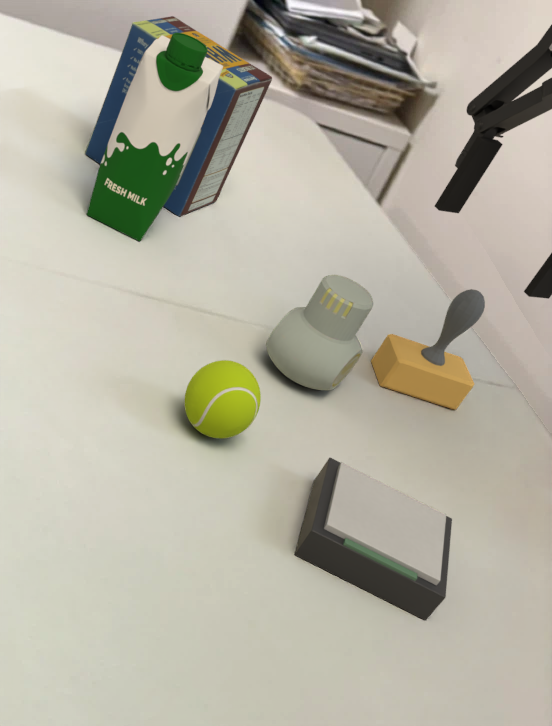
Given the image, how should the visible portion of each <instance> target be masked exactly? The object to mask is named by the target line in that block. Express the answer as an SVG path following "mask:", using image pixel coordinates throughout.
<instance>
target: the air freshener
mask: <svg viewBox="0 0 552 726" xmlns="http://www.w3.org/2000/svg"><path fill="white" fill-rule="evenodd" d="M374 305H375V304H374V300H373V297H372V295H371V293H370V292H369V291H368V289H366V288H365V287H364V286H363V285H361V283H359V282H356V281H355V280H353V279H351V278H349V277H346V276H344V275H341V274H328V275H326V276H324V277H323V278H322V279H321V281H320V282H319V284H318V286H317V287H316V290H315V291H314V293H313V294H312V296H311V298H310V300H309V301H308V303H307V304H306V306H297V307H294V308H293V309H291V310H289V312H288V313H287V314H285V315H284V316H283V317H282V318H281V320H280V321H279V322H278V323H277V325H276V326H275V327H274V329H272V331H271V333H270V335H269V336H268V337H267V340H266V343H265V346H266V347H265V348H266V351H267V354H268V356H269V358H270V360H271V361H272V363H273V364H274V366H275V367H276V368H277V369H278V370H279V371H280V372H281V373H282V375H284V376H285V377H286V378H287V379H289V380H290V381H292V382H294V383H296V384H298V385H300V386H302V387H305V388H307V389H312V390H317V391H332V390H334V389H335V388H336V387H338V386H339V384H341V383H342V382H343V381H344V379H345V378H346V377H347V376H348V375H349V373H350V372H351V371H352V370H353V368H355V366H356V364H357V363H358V361H359V360H360V358H361V357H362V353H363V347H362V345H361V341H360V340H359V338H358V336H357V333H358V332H359V330H360V329H361V327H362V325H363V324H364V322H365V320H366V319H367V317H368V315H369V314H370V312H371V310H373V307H374Z"/></svg>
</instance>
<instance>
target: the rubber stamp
mask: <svg viewBox="0 0 552 726" xmlns="http://www.w3.org/2000/svg"><path fill="white" fill-rule="evenodd" d="M485 307H486V301H485V296H484V295H483V293H482V292H481V291H479V290H477V289H472V288H471V289H466V290H464V291H461V292H459V293H458V294H457V295H456V296H455V297H454V298H453V299H452V301H451V302H450V303H449V306H448V308H447V311H446V313H445V318H444V322H443V326H442V330H441V332H440V334H439V337H438V339H437V341H436V342H435V343H434V344H433V345H431V346H430V345H426V344H423V343H421V342H419V341H414V340H412V339H410V338H409V339H408V338H406V337H403V336H400V335H398V334H394V333H390V334H389V333H388V334H387V335H386V336H385V338H384V340H383V341H382V343H381V344H380V346H379V347H378V349H377V351H376V352H375V354H374V355H373V357H372V358H371V360H370V363H371V365H372V368H373V371H374V374H375V376H376V379H377V383H378V385H379V387H382V388H386V389H388V390H391V391H395V392H398V393H400V394H404V395H407V396H409V397H413V398H415V399H418V400H422V401H425V402H428V403H432V404H435V405H438V406H441V407H444V408H447V409H450V410H457V409H459V407H460V405H461V404H462V403H463V402H464V400H465V399H466V397H467V396H468V395H469V393H470V392H471V391H472V389H473V388H474V386H475V382H474V379H473V376H472V375H471V373H470V371H469V369H468V367H467V365H466V363H465V360H464V358H462V357H461V356H459V355H456V354H453V353H451V352H447V351H446V350H447V348H448V346H450V344H451V343H452V342H453V341H454V340H456V339H457V338H458V337H459V336H461V335H462V334H464V333H465V332H466V331H468V330H469V329H470V328H472V327H473V326H474V325H475V324H476V323H477V322H478V321H479V320H480V318H481V317H482V315H483V314H484V311H485Z"/></svg>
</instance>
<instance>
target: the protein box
mask: <svg viewBox="0 0 552 726" xmlns="http://www.w3.org/2000/svg"><path fill="white" fill-rule="evenodd" d="M173 33H183V34H186V35H189V36H191V37H193V38H195V39H197V40H199V41H200V42H202V43H203V44H204V45H205V46H206V47H207V49H208V51H207V54H206V56H205V57H207V58H209V59H211V60H213V61H214V62H216V63H218V64H220V65H222V66H223V69H222V71H221V74H220V77H219V79H218V84H217V88H216V92H215V95H214V99H213V102H212V105H211V107H210V109H209V110H208V111H207V113H206V116H205V119H204V122H203V124H202V127H201V129H200V131H199V134H198V136H197V138H196V141H195V143H194V145H193V147H192V150H191V152H190V154H189V157H188V159H187V161H186V163H185V166H184V168H183V170H182V173H181V175H180V177H179V180H178V182H177V184H176V186H175V188H174V190H173V192H172V193H171V195H170V197H169V198H168V200H167V201H166V203H165V204H164V206H163V208H165V209H167V210H168V211H170V212H171V213H173V214H174V215H176V216H178V217H183V216H185V215H187V214H189V213H192V212H194V211H196V210H199V209H201V208H203V207H206V206H208V205H211V204H213V203H216V202H217V201H218V198H219V197H220V195H221V192H222V191H223V187H224V185H225V183H226V181H227V180H228V176H229V174H230V172H231V170H232V168H233V167H234V164H235V161H236V159H237V158H238V155H239V153H240V150H241V148H242V146H243V144H244V142H245V139H246V137H247V135H248V133H249V131H250V128H251V127H252V124H253V122H254V120H255V118H256V116H257V114H258V112H259V109H260V108H261V105H262V103H263V101H264V98H265V96H266V94H267V92H268V90H269V87H270V85H271V83H272V81H273V77H272V76H271V75H270V74H269V73H267V72H265V71H263V70H262V69H260V68H259V67H256V66H255V65H253V64H252V63H250V62H248V61H247V60H246V59H243V58H242V57H240V56H239V55H237V54H235V53H234V52H232V51H230V50H229V49H227V48H226V47H224V46H222V45H220V44H219V43H218V42H216V41H214V40H213V39H211V38H210V37H208V36H206V35H204V34H203V33H201V32H199V31H197V30H196V29H195V28H193V27H191V26H190V25H188V24H186V23H185V22H183V21H182V20H180V19H179V18H177V17H176V16H173V15H172V16H166V17H159V18H153V19H146V20H140V21H132V22H131V26H130V29H129V32H128V35H127V38H126V40H125V43H124V45H123V49H122V52H121V54H120V57H119V59H118V62H117V66H116V67H115V70H114V73H113V76H112V79H111V81H110V84H109V86H108V89H107V92H106V95H105V97H104V100H103V103H102V106H101V108H100V110H99V114H98V117H97V119H96V123H95V124H94V128H93V130H92V133H91V135H90V138H89V140H88V144H87V146H86V149H85V152H84V154H85V155H86V156H88V157H89V158H91V159H92V160H93V161H95V162H97V163H98V164H99V165H100V164H101V161H102V158H103V155H104V153H105V150H106V147H107V145H108V142H109V139H110V137H111V134H112V132H113V129H114V126H115V124H116V121H117V118H118V116H119V113H120V110H121V108H122V105H123V102H124V100H125V97H126V95H127V92H128V89H129V87H130V85H131V82H132V80H133V78H134V76H135V74H136V72H137V68H138V66H139V63H140V61H141V58H142V56H143V55H144V53H145V51H146V50H147V49H148V48H149V47H150V46H151V44H152V43H153V42H154V41H155V40H156V39H159V37H160V36H162V35H163V36H165V37H167V38H169V39H171V37H172V35H173Z"/></svg>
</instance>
